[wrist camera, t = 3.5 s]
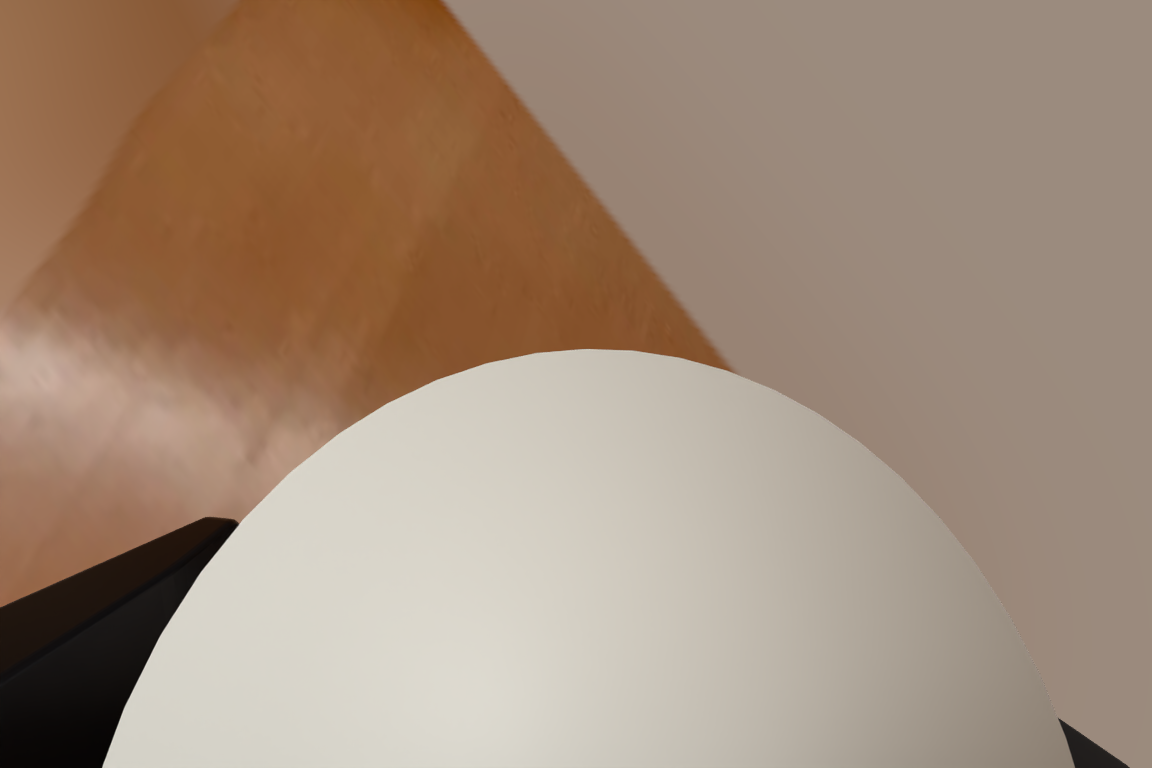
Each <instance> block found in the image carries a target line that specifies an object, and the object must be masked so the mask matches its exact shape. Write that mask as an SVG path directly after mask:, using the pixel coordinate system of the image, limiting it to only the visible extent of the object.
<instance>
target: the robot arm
mask: <svg viewBox="0 0 1152 768" xmlns="http://www.w3.org/2000/svg"><path fill="white" fill-rule="evenodd" d="M238 526H239V523H238V522H237V521H235V520H234V519H227V518H217V517H205V518H202V519H200V520H198V521H195V522H193V523H191V524H189V525H186V526H184V527H182V528H179V529H177V530H175V531H173V532H170V533H168V534H166V535H164V536H161V537H159V538H157V539H155V540H152V541H150V542H148V543H145V544H143V545H141V546H139V547H136V548H134V549H132V550H130V551H127V552H125V553H123V554H121V555H118V556H116V557H114V558H111V559H109V560H107V561H105V562H102V563H100V564H98V565H96V566H93V567H91V568H89V569H87V570H84V571H82V572H80V573H77V574H75V575H73V576H71V577H68V578H66V579H64V580H62V581H59V582H57V583H55V584H53V585H50V586H48V587H46V588H43V589H41V590H39V591H37V592H34V593H32V594H30V595H28V596H25V597H23V598H21V599H18V600H16V601H14V602H12V603H9V604H7V605H5V606H3V607H0V768H102V767H103V764H104V761H105V759H106V756H107V753H108V751H109V748H110V745H111V742H112V740H113V737H114V734H115V732H116V729H117V726H118V724H119V721H120V718H121V716H122V713H123V710H124V708H125V706H126V704H127V702H128V700H129V698H130V696H131V694H132V692H133V690H134V688H135V686H136V683H137V681H138V679H139V677H140V675H141V673H142V671H143V669H144V667H145V665H146V663H147V661H148V659H149V657H150V655H151V653H152V651H153V649H154V647H155V645H156V643H157V641H158V639H159V637H160V635H161V634H162V632H163V631H164V629H165V628H166V626H167V624H168V623H169V621H170V620H171V618H172V617H173V615H174V614H175V612H176V610H177V609H178V607H179V606H180V604H181V603H182V601H183V599H184V598H185V596H186V595H187V593H188V592H189V590H190V589H191V587H192V585H193V584H194V582H195V581H196V579H197V578H198V576H199V574H200V573H201V572H202V570H203V569H204V568H205V567H206V565H207V564H208V563H209V562H210V560H211V559H212V558H213V557H214V555H215V554H216V553H217V552H218V550H219V549H220V548H221V547H222V545H223V544H224V543H225V542H226V541H227V539H228V538H229V537H230V536H231V534H232V533H233V532H234V531H235V529H236V528H237V527H238ZM1058 720H1059V722H1060V725H1061V727H1062V729H1063V732H1064V734H1065V737H1066V740H1067V743H1068V746H1069V750H1070V753H1071V756H1072V759H1073V763H1074V766H1075V768H1129V767H1128V766H1127V765H1126V764H1124V763H1123V762H1122V761H1120V760H1119V759H1117V758H1115V757H1114V756H1113V755H1111V754H1110V753H1108V752H1107V751H1105V750H1104V749H1103V748H1101V747H1100V746H1098V745H1097V744H1095V743H1094V742H1092V741H1091V740H1089V739H1088V738H1087V737H1085V736H1084V735H1082V734H1081V733H1079V732H1078V731H1076V730H1075V729H1074V728H1072V727H1071V726H1069V725H1068V724H1066V723H1065V722H1063V721H1062V720H1060V719H1059V718H1058Z"/></svg>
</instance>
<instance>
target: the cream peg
mask: <svg viewBox="0 0 1152 768" xmlns="http://www.w3.org/2000/svg"><path fill="white" fill-rule="evenodd" d="M102 768H1075V766H1074V763H1073V759H1072V756H1071V753H1070V750H1069V746H1068V743H1067V740H1066V737H1065V734H1064V732H1063V729H1062V727H1061V725H1060V722H1059V720H1058V717H1057V715H1056V713H1055V710H1054V707H1053V705H1052V703H1051V700H1050V698H1049V695H1048V693H1047V690H1046V688H1045V685H1044V683H1043V680H1042V678H1041V676H1040V673H1039V671H1038V669H1037V667H1036V666H1035V664H1034V662H1033V660H1032V658H1031V656H1030V654H1029V652H1028V651H1027V648H1026V646H1025V644H1024V643H1023V641H1022V639H1021V637H1020V635H1019V633H1018V631H1017V629H1016V628H1015V625H1014V623H1013V621H1012V619H1011V617H1010V616H1009V614H1008V613H1007V611H1006V609H1005V608H1004V606H1003V605H1002V604H1001V602H1000V600H999V598H998V597H997V595H996V594H995V592H994V591H993V589H992V588H991V586H990V585H989V583H988V581H987V580H986V578H985V577H984V575H983V574H982V572H981V571H980V569H979V568H978V566H977V564H976V563H975V562H974V560H973V559H972V558H971V557H970V555H969V554H968V553H967V552H966V550H965V549H964V548H963V546H962V545H961V544H960V543H959V541H958V540H957V539H956V538H955V536H954V535H953V534H952V533H951V531H950V530H949V529H948V528H947V526H946V525H945V524H944V522H943V521H942V520H941V519H940V517H938V515H937V514H936V513H935V512H934V511H933V510H932V509H931V508H930V507H929V506H928V505H927V504H926V503H925V502H924V501H923V500H922V499H921V498H920V497H919V496H918V495H917V493H915V491H914V490H913V489H912V488H911V487H910V486H909V485H908V484H907V483H906V482H905V481H904V480H903V479H902V478H901V477H900V476H899V475H898V474H897V473H895V472H894V471H893V470H892V469H891V468H890V467H888V466H887V465H886V464H885V463H884V462H882V461H881V460H880V459H879V458H878V457H877V456H875V455H874V454H873V453H872V452H871V451H870V450H868V449H867V448H866V447H865V446H864V445H862V444H861V443H860V442H859V441H857V440H856V439H854V438H853V437H851V436H850V435H848V434H847V433H845V432H844V431H843V430H841V429H840V428H838V427H837V426H835V425H834V424H832V423H831V422H829V421H828V420H827V419H825V418H824V417H822V416H820V415H819V414H818V413H816V412H814V411H812V410H810V409H809V408H807V407H805V406H803V405H801V404H799V403H798V402H795V401H794V400H792V399H790V398H788V397H786V396H784V395H783V394H780V393H779V392H777V391H775V390H773V389H771V388H768V387H766V386H763V385H761V384H758V383H756V382H753V381H751V380H749V379H746V378H744V377H741V376H739V375H736V374H734V373H731V372H729V371H726V370H722V369H718V368H715V367H711V366H707V365H704V364H700V363H697V362H693V361H689V360H686V359H682V358H677V357H670V356H664V355H657V354H651V353H644V352H638V351H624V350H595V349H581V350H569V351H557V352H545V353H535V354H530V355H525V356H520V357H516V358H511V359H506V360H501V361H496V362H492V363H487V364H484V365H481V366H478V367H475V368H472V369H469V370H466V371H463V372H460V373H457V374H454V375H451V376H448V377H445V378H442V379H439V380H436V381H434V382H432V383H430V384H428V385H426V386H423V387H421V388H419V389H417V390H415V391H413V392H411V393H409V394H407V395H404V396H402V397H400V398H398V399H396V400H394V401H392V402H390V403H388V404H386V405H384V406H383V407H381V408H379V409H378V410H376V411H375V412H373V413H371V414H370V415H368V416H367V417H365V418H363V419H362V420H360V421H359V422H357V423H355V424H354V425H352V426H351V427H349V428H347V429H346V430H344V431H343V432H341V433H339V434H338V435H337V436H335V437H334V438H333V439H332V440H330V441H329V442H328V443H327V444H325V445H324V446H323V447H322V448H320V449H319V450H318V451H317V452H315V453H314V454H313V455H312V456H310V457H309V458H308V459H307V460H305V461H304V462H303V463H301V464H300V465H299V466H298V467H296V468H295V469H294V470H293V471H291V472H290V473H289V474H288V475H287V476H286V477H285V478H284V479H283V480H282V481H281V482H280V483H279V484H278V485H277V486H276V487H275V488H274V489H273V490H272V491H271V492H270V493H269V494H268V495H267V496H266V497H265V498H264V499H263V500H262V501H261V502H260V503H259V504H258V505H257V506H256V507H255V508H254V509H253V510H252V511H251V512H250V513H249V514H248V515H247V516H246V517H245V518H244V519H243V521H242V522H241V523H240V524H239V526H238V527H237V528H236V529H235V531H234V532H233V533H232V534H231V536H230V537H229V538H228V539H227V541H226V542H225V543H224V544H223V545H222V547H221V548H220V549H219V550H218V552H217V553H216V554H215V555H214V557H213V558H212V559H211V560H210V562H209V563H208V564H207V565H206V567H205V568H204V569H203V570H202V572H201V573H200V574H199V576H198V578H197V579H196V581H195V582H194V584H193V585H192V587H191V589H190V590H189V592H188V593H187V595H186V596H185V598H184V599H183V601H182V603H181V604H180V606H179V607H178V609H177V610H176V612H175V614H174V615H173V617H172V618H171V620H170V621H169V623H168V624H167V626H166V628H165V629H164V631H163V632H162V634H161V635H160V637H159V639H158V641H157V643H156V645H155V647H154V649H153V651H152V653H151V655H150V657H149V659H148V661H147V663H146V665H145V667H144V669H143V671H142V673H141V675H140V677H139V679H138V681H137V683H136V686H135V688H134V690H133V692H132V694H131V696H130V698H129V700H128V702H127V704H126V706H125V708H124V710H123V713H122V716H121V718H120V721H119V724H118V726H117V729H116V732H115V734H114V737H113V740H112V742H111V745H110V748H109V751H108V753H107V756H106V759H105V761H104V764H103V767H102Z"/></svg>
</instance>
